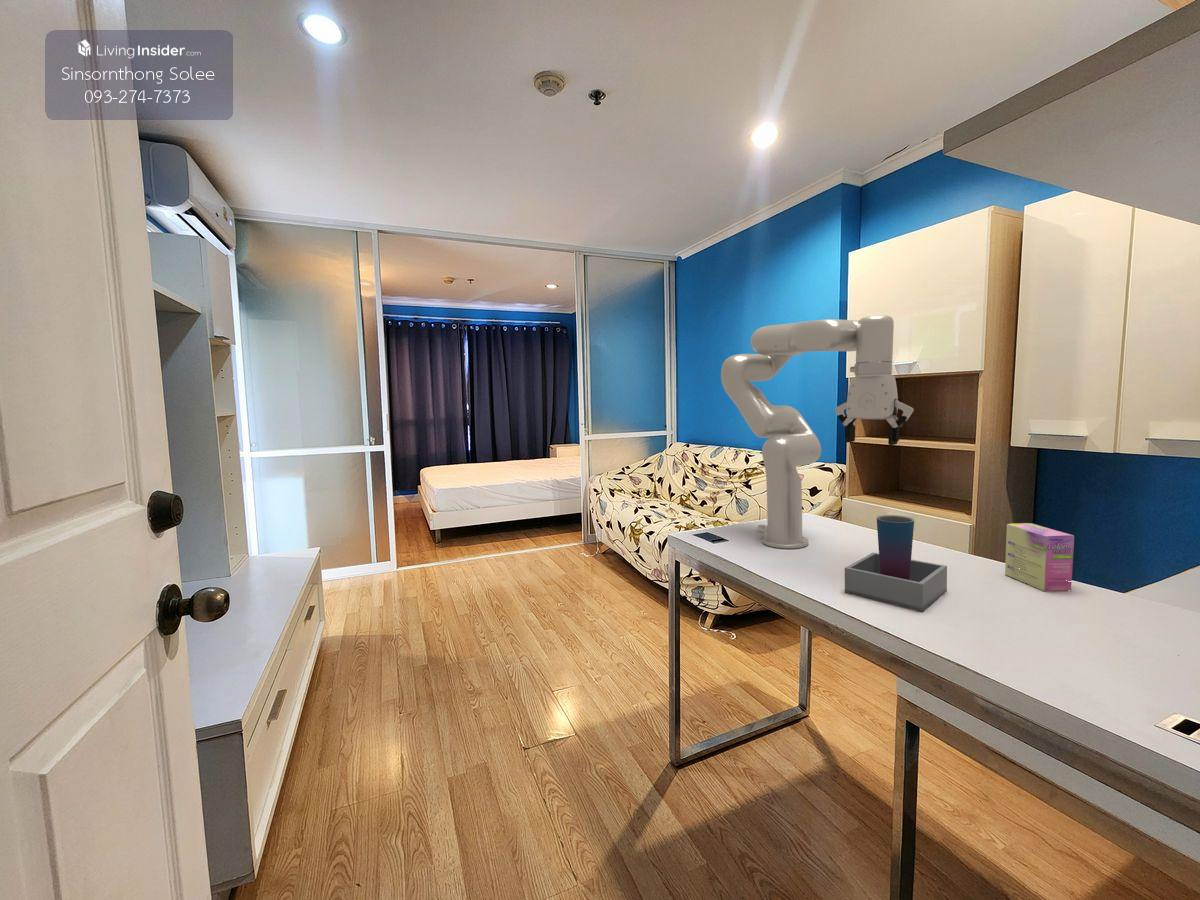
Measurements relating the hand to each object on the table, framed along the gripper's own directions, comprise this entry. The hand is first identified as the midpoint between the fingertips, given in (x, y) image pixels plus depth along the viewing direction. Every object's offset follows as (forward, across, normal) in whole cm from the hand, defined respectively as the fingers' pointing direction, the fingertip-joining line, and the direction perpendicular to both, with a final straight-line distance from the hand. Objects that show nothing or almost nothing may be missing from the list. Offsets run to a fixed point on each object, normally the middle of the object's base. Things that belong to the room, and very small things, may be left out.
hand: (870, 443), depth 119 cm
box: (+30, +30, +13) cm, 44 cm away
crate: (+30, +12, -13) cm, 34 cm away
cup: (+29, +11, -13) cm, 34 cm away
